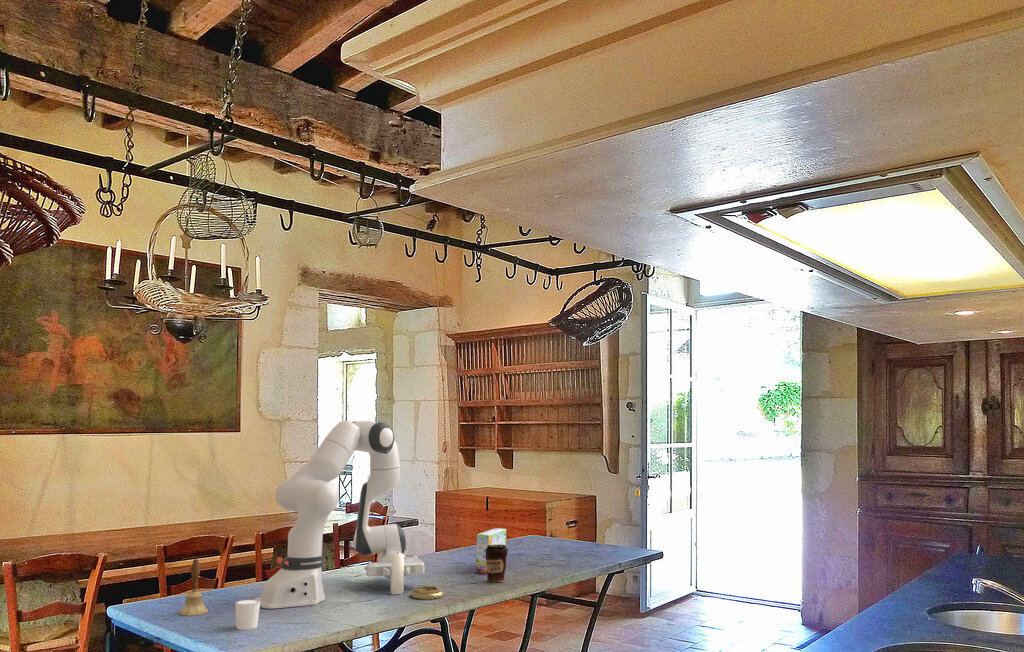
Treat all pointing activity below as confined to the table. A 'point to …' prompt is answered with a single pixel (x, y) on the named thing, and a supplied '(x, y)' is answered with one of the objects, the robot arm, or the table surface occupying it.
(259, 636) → the table surface
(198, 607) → the hand bell
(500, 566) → the coffee cup
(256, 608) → the white tapered cup
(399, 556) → the candle
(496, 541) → the snack box
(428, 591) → the candle dish
